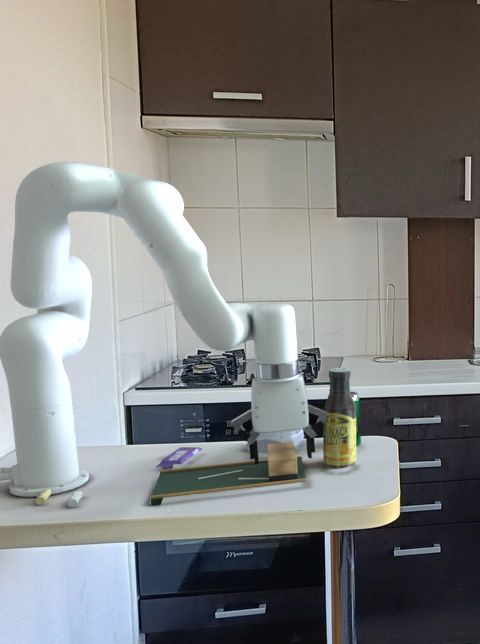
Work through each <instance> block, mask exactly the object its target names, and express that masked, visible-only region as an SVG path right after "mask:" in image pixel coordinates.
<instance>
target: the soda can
mask: <svg viewBox="0 0 480 644" xmlns="http://www.w3.org/2000/svg"><path fill="white" fill-rule="evenodd" d="M350 394H351V397H352V398H353V400H354V402H355V405H356V447H359V446H360V445H361V444H362V427H361V426H362V425H361V403H360V402H361V401H360V396H359V395H358V392H357V391H350Z"/></svg>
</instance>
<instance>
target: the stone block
mask: <svg viewBox="0 0 480 644" xmlns="http://www.w3.org/2000/svg"><path fill="white" fill-rule="evenodd" d="M304 433H305V431H304V430H302V429H298V430H290V431H280V432H271V433H261V434H260V435H259V436H258V438H257V439H256V441H257V445H258V454H261V453H262V454H266V453H267V444H274V443H285V442H294V446H295V447H296V446H297V445H298V444H299V443H300V442H301V441H302V440H303V439H305V434H304ZM245 449H246V450H245V451H246V452H247V453H250V447H249V444H248V443H247V442H246V445H245ZM267 454H268V453H267Z"/></svg>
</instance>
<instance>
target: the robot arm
mask: <svg viewBox="0 0 480 644" xmlns="http://www.w3.org/2000/svg"><path fill="white" fill-rule="evenodd" d="M14 200H15V201H14V233H13V242H12V255H11V268H10V269H11V270H10V291H11V295H12V296H13V298H14V300H15V301H16V302H17V303H18V304H19V305H21V306H23V307H25V308H28V309H32V310H33V309H34V310H36V313H34V314H31V315H27V316H23V317H20V318H17V319H15V320H14V321H12V322H10V323H9V324H8V325H6V327H5V328H4V329H3V330H2V332H1V333H0V362H1V365H2V368H3V371H4V374H5V379H6V383H7V389H8V395H9V396H8V397H9V404H10V410H11V421H12V429H13V439H14V448H15V456H16V464H12V465H11V466H10V467H9V466H8V467H0V482H1V481H2V482H3V481H10V484H9V486H8V487H9V492H10V494H11V495H14V496H17V497H23V498H25V497H26V498H34V497H35V498H37V497H38V496H39V495H40V493H41V492H42V491H43V490H44V489H50V490H51V492H52V493H51V495H52V496H53V495H56V494H61V493H66V492H69V491H73V490H74V489H77V488H80V487H81V486H83V485H84V484H86V483H87V482H88V481H89V479H90V474H89V471H88V470H86V469H84V468H80V467H79V457H78V447H77V436H76V427H75V417H74V407H73V398H72V389H71V384H70V380H69V376H68V374H67V372H66V369H65V367H64V364H63V361H64V360H67V359H69V358H72V357H74V356H75V355H77V354H79V353H80V352H81V351H82V349H83V348H84V347H85V345H86V343H87V341H88V337H89V330H90V321H91V320H90V319H91V307H92V294H93V280H92V276H91V272H90V270H89V268H88V266H87V265H86V264H85V262H84V261H83V260H81V259H80V258H79V257H77V256H76V255H73V254H70V245H71V238H72V237H71V236H72V235H71V229H70V228H71V227H70V224H69V223H70V222H69V220H68V215H69V214H71V213H74V212H75V213H76V212H82V213H83V212H84V213H102V214H107V215H110V216H114V217H118V218H119V217H120V218H122V219H124V221H125V222H126V224H127V225H128V226H129V228H130V229H131V230H132V232H133V233H134V235H135V236H136V237H137V239H138V240H139V242H140V243H141V244H142V245H143V247H144V248H145V249H146V250H147V252H148V253H149V255H150V256H151V257H152V259H153V261H154V263H156V264H157V266H158V268H159V269H160V270H161V272H162V273H163V276H164V279H165V282H166V285H167V288H168V290H169V293H170V295H171V297H172V300H173V302H174V304H175V306H176V307H177V309H178V311H179V313H180V314H181V316H182V317H183V319H184V320H185V322H186V323H187V324H188V325H189V327H190V328H191V330H193V332H194V333H195V335H196V337H198V339H199V340H201V342H202V343H203V344H204V345H206V346H207V347H209V348H210V349H212V350H215V351H219V352H220V351H221V352H225V351H226V352H227V351H230V350H233V349H234V348H237V347H239V346H240V344H243V343H246V342H250V341H253V347H254V348H253V349H254V362H255V375H256V376H255V377H253V378H252V380H251V388H250V389H251V391H250V409H249V410H247V411H246V412H244V413H242V414H240V415H239V416H237V417H235V418H233V419H232V420H231V426H232V428H233V430H234V431H235V432H236V433H237V435H238V436H239V437H240V438H241V439H243V440H244V441H245V442H246V444H247V443H248V444H249V447H250V452H249V461H252V460H253V461H254V462H255V465H258V464H259V460H260V459H259V453H258V445H257V441H256V439H257V438H258V436H259V435H260V434H261V433H271V432H280V431H290V430H298V429H302V430H303V431H304V433H305V441H306V455H307V458H308V459H313V455H312V454H313V453H316V444H315V443H316V442H315V437H316V436H317V434H318V433H319V432H320V431H321V430H322V429H323V425H324V422H325V421H326V413H327V412H326V411H325V410H324V408H323V409H322V408H320V407H317V406H315V405H312V404H310V403H308V397H307V396H308V395H307V389H306V383H305V379H304V376H303V374H301V373H300V372H301V371H303V370H307V362H306V361H304V362H302V361H300V360H299V357H298V342H297V326H296V316H295V315H296V314H295V309H294V307H293V306H292V305H291V304H288V303H281V302H280V303H279V302H278V303H275V302H274V303H263V304H253V303H244V302H231V303H227V301H226V300H225V299H224V298H223V297H222V294H221V293H220V292H219V291H218V289H217V287H216V286H215V284H214V282H213V280H212V278H211V276H210V272H209V269H208V251H207V247H206V246H205V243H204V242H203V241H202V240H201V239H200V237H199V236H198V234H197V232H195V230H194V229H193V228H192V226H191V225H190V223H189V222H188V221H187V219H186V218H185V217H184V215H183V214H184V210H185V203H184V199H183V197H182V195H181V193H180V192H179V190H178V189H177V188H176V187H175V186H173V185H172V184H170V183H168V182H165V181H162V180H158V179H152V178H148V177H144V176H140V175H136V174H133V173H129V172H125V171H121V170H117V169H114V168H111V167H106V166H102V165H97V164H89V163H84V162H75V161H58V162H57V161H56V162H51V163H48V164H47V163H46V164H44V165H42V166H39V167H37V168H35V169H33V170H32V171H30V172H29V173H28V174H27V175H26V176H25V177H23V179H22V180H21V182H20V183H19V186H18V188H17V190H16V194H15V199H14ZM309 413H310V414H312V415H315V416H318V418H317V420H316V422H315V423H314V424H313V425H311V424H310V423H309V422H310V417H309V415H310V414H309ZM250 419H251V423H252V430H251V431H250V432H249V431H248V430H246V429H245V428H244V427H243V425H242V424H244V423H245V422H247V421H248V420H250ZM51 495H50V496H51Z"/></svg>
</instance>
